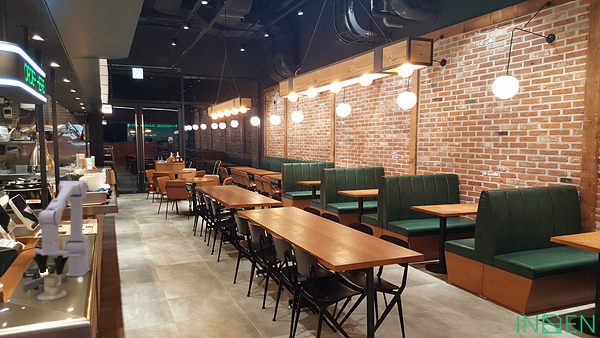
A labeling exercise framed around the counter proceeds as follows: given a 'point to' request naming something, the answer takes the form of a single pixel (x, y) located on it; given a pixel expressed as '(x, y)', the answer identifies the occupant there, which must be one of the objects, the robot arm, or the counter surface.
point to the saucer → (48, 298)
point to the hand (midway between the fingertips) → (51, 273)
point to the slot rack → (39, 281)
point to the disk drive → (35, 270)
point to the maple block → (52, 285)
